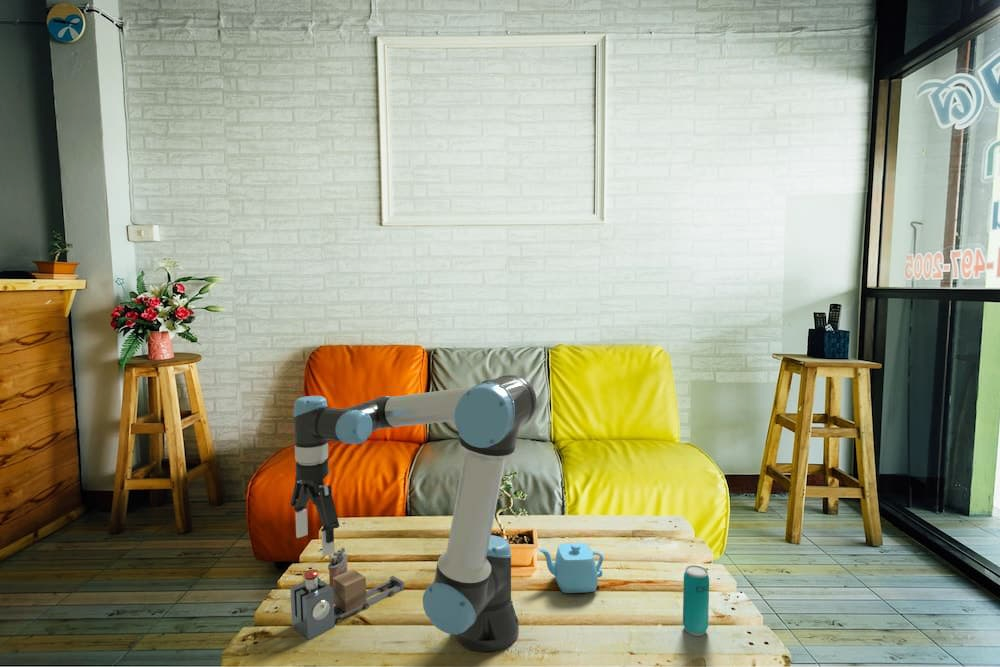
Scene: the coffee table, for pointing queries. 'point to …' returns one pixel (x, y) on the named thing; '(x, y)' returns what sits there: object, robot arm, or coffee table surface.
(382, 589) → the rail track
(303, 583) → the gauge cabinet
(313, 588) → the gauge plunger
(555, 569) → the teapot
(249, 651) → the coffee table surface
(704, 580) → the beverage can
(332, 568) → the red pack with sticks
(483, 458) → the robot arm
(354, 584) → the carriage
